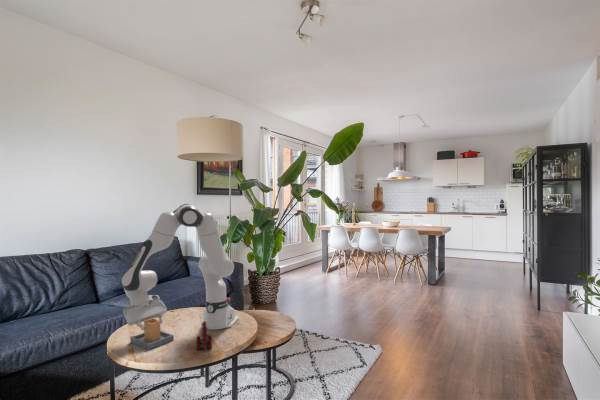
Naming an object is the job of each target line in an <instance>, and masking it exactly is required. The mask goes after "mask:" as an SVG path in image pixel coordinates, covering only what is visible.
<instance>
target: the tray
mask: <svg viewBox="0 0 600 400" xmlns="http://www.w3.org/2000/svg"><path fill="white" fill-rule="evenodd" d="M174 338H175V337H174V334H172V333H170V332H167V331H164V330H161V329H160V339H159V340H156V341H153V342H149V341H147V340H144V332H142V333H139V334H136V335H133V336H131V337H130V344H134V345H136V346H138V347H141V348H143V349H145V350H148V351H149V350H153V349H154V348H157V347H159V346H162V345H165V344H167V343H170V342H173V341H174V340H175V339H174ZM172 340H173V341H172Z"/></svg>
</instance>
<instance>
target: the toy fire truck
mask: <svg viewBox="0 0 600 400" xmlns="http://www.w3.org/2000/svg"><path fill="white" fill-rule="evenodd" d="M201 325H202V328H201V329H202V331H201V336H200V335H198V336H196V350H197V351H199V350H201V349H204V350H206V349H207V347H208V349H212V348H213V346H212V344H213V343H212V342H213V341H212V340H213V339H212V335H211V334H208V333H207V332H208V329H207V327H206V322H203V324H201Z"/></svg>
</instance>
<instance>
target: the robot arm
mask: <svg viewBox="0 0 600 400" xmlns="http://www.w3.org/2000/svg"><path fill="white" fill-rule="evenodd" d="M180 226H184V227H189V228H190V227H193V228H194V227H195V229H196V231H197V236H198V240H199V245H200V248H201V250H202V251H203V252H204V254H205V255H203V256H201V257H200V259H199V260H198V268H199V270H200V271H201V273H202V277H203V280H204V285H205V301H204V303H205V304H204V305H205V307H204V310H203V321H201V325H203V322H206V327H207V330H213V331H215V330H222V329H226V328H232V327H233V326H234V325H235V324H236V323H237V322H238V320H239V319H240V316H238V315H236V314H235V313H236V312H235V309H234V308H233V307H232V306H231V305H230V304H229V302H231V297H227V284H226V282H225V281H224V279H223V278H226V277H229V276H231V275H232V274H233V273H234V270H235V264H234V261H232V259H231V258H230V257H229V256H228V254H227V251H226V250H225V248H224V246H223V244H222V240H221V237H220V233H219V228H218V224H217V221H216V219H215V217H214V215H213V214H212V213H210V212H203V213H201V212H200V211H199V210H198V209H197V208H196V206H195V205H192V204H189V203H184V204H181V205H179V206H178V207H177V208H176V209H175V210H173V212H172V211H164V212H162V213H160V215H159V217H158V218H157V220H156V222H155V223H154V227H153V229H152V231H151V233H150V235H149V236H148V238H147V239H145V241H143V242H142V244H140V247H139V248H138V250H137V251H136V253H135V256H134V257H133V259H132V260H131V263H130V264H129V266H128V268H127V269H126V271H125V272H124V273H123V275H122V277H121V280H120V281H121V286H122V287H123V291H124V292H125V294H126V297H127V298H128V299H129V303H130V306H126V307H124V308H123V310H122V313H123V315H124V316H125V320H126V323H127V325H128V326H133V325H136V326H137V327H139V328H140V329H141V331H144V329H145V328H146V326H145V325H144V321H147V320H150V319H156V318H158V320H159V321H160V325H161V324H163V322H164V321H163V315H165V314H166V313H167V311H168V307H167V306H166V305H165V303H164V301H162V300H161V299H160V296H159V295H151V294H148V292H149V291H150V290H152V289H154V287H156V286H157V284H158V282H159V280H158V274H157V273H156V271H154V270H150V269H149V270H147V269H146V270H145V269H144V270H143V268H144V267H145V264H146V263H147V261H148V258H150V256H151V255H153V254H155V253H157V252H160V251H163V250H166V249H168V248H169V247H170V246H171V245H172V243H173V240H174V238H175V235H176V232H177V231H178V228H179V227H180ZM142 322H143V323H142Z"/></svg>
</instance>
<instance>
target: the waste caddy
mask: <svg viewBox="0 0 600 400" xmlns="http://www.w3.org/2000/svg"><path fill="white" fill-rule="evenodd" d="M143 325H145V326H146V328H145V329H144V330H143V331H144V332H143V333H144V340H147V341H149V342H153V341H156V340H159V339H160V330H161V324H160V321H159V319H156V318H152V319H149V320H146V321H143Z"/></svg>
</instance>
